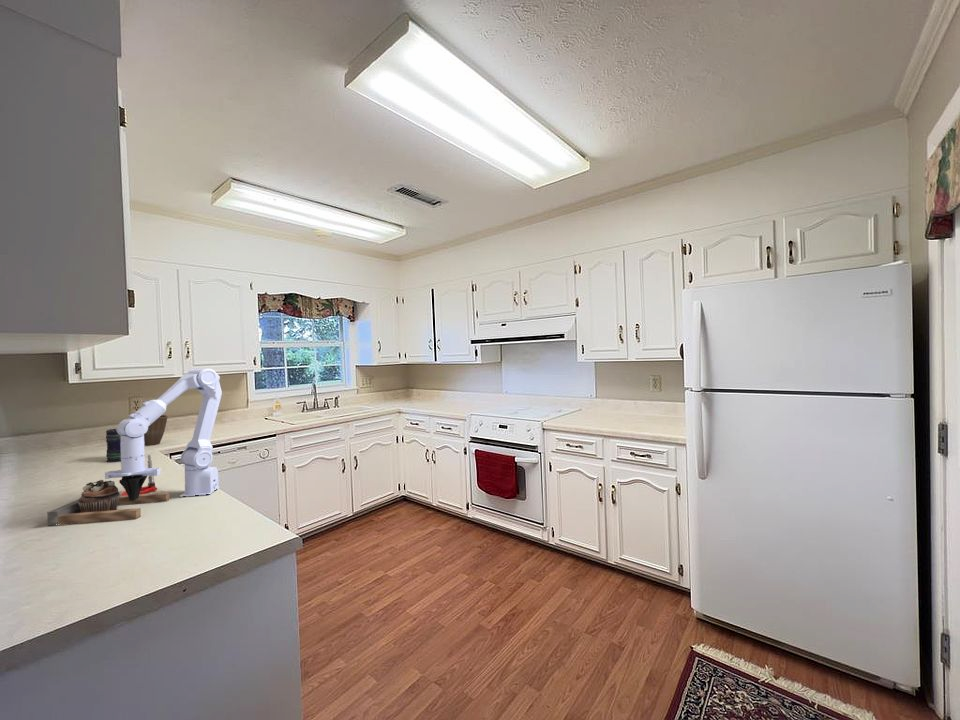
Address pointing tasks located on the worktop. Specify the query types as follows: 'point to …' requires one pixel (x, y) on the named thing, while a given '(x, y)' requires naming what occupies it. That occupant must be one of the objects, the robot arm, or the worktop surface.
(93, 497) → the cupcake
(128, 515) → the guide track
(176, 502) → the worktop surface
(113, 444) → the storage jar
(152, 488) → the tow hook
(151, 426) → the plant pot
